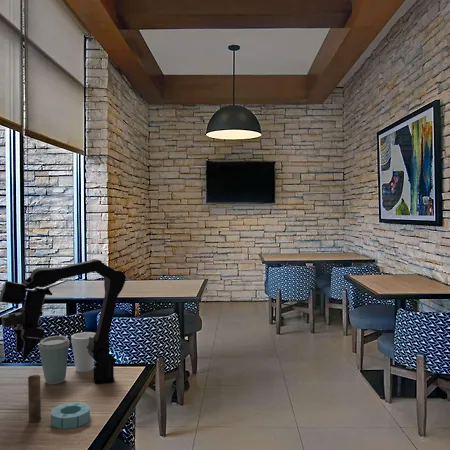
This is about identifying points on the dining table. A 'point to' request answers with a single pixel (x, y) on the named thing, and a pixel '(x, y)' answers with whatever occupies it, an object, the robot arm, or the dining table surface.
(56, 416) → the bead
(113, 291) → the robot arm
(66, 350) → the disposable coffee cup
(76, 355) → the foam cup
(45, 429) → the dining table surface
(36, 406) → the brown post
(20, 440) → the dining table surface
